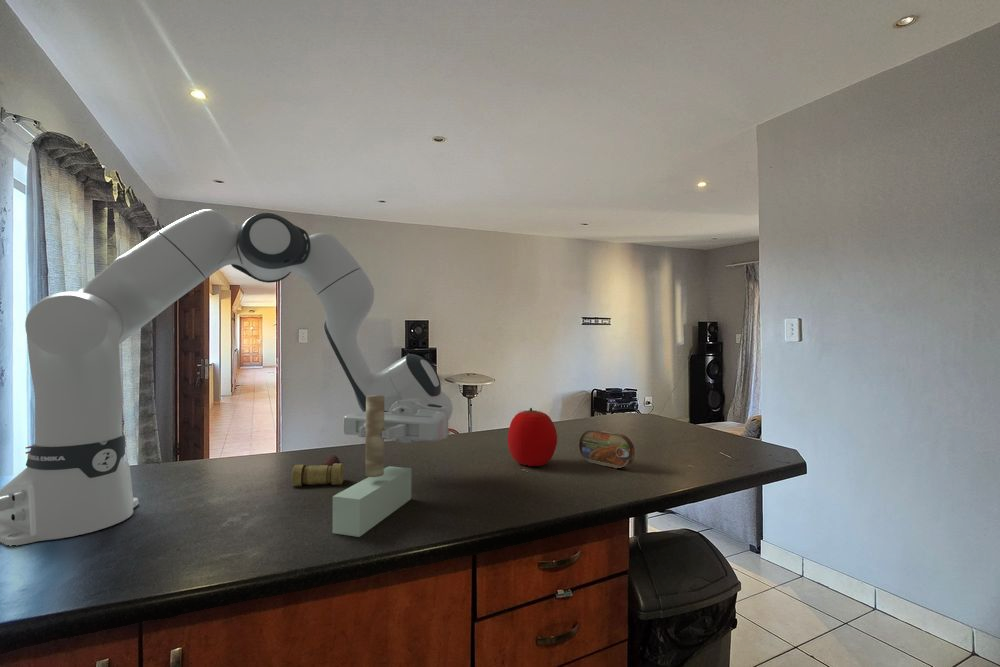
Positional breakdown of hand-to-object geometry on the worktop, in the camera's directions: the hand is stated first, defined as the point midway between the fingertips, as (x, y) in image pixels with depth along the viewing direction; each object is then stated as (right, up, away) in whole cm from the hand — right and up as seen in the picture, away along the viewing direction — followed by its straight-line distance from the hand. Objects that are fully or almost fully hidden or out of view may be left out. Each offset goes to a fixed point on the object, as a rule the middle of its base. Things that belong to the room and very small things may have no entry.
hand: (373, 433), depth 83 cm
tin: (+49, -15, +34) cm, 62 cm away
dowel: (0, -7, 0) cm, 7 cm away
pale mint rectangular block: (0, -15, +1) cm, 15 cm away
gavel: (-18, -15, +26) cm, 35 cm away
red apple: (+30, -15, +34) cm, 48 cm away
